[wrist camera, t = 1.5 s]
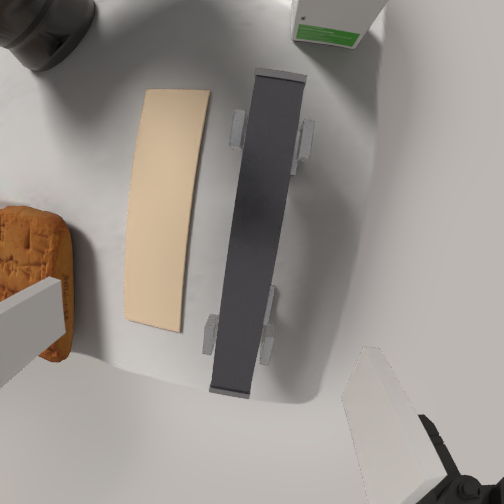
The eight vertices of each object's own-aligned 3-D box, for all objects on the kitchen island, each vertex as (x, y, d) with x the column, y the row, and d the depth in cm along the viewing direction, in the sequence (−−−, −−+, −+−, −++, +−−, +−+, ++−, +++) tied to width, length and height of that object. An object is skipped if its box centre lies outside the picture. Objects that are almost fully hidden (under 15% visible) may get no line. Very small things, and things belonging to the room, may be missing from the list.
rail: (258, 85, 22) (255, 67, 18) (301, 92, 22) (306, 75, 18) (216, 366, 28) (209, 391, 24) (251, 372, 28) (248, 399, 24)
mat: (148, 90, 30) (146, 89, 29) (210, 91, 29) (209, 90, 29) (126, 317, 37) (125, 318, 36) (180, 330, 36) (179, 332, 36)
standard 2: (247, 123, 30) (237, 97, 20) (302, 132, 30) (316, 109, 20) (240, 166, 31) (226, 158, 21) (295, 175, 31) (307, 171, 21)
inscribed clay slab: (87, 350, 39) (61, 376, 31) (19, 317, 39) (-8, 334, 31) (86, 213, 34) (48, 222, 26) (14, 197, 34) (-21, 203, 26)
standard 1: (224, 277, 34) (206, 315, 24) (275, 286, 34) (276, 328, 24) (219, 314, 36) (201, 362, 25) (268, 323, 35) (266, 373, 25)
